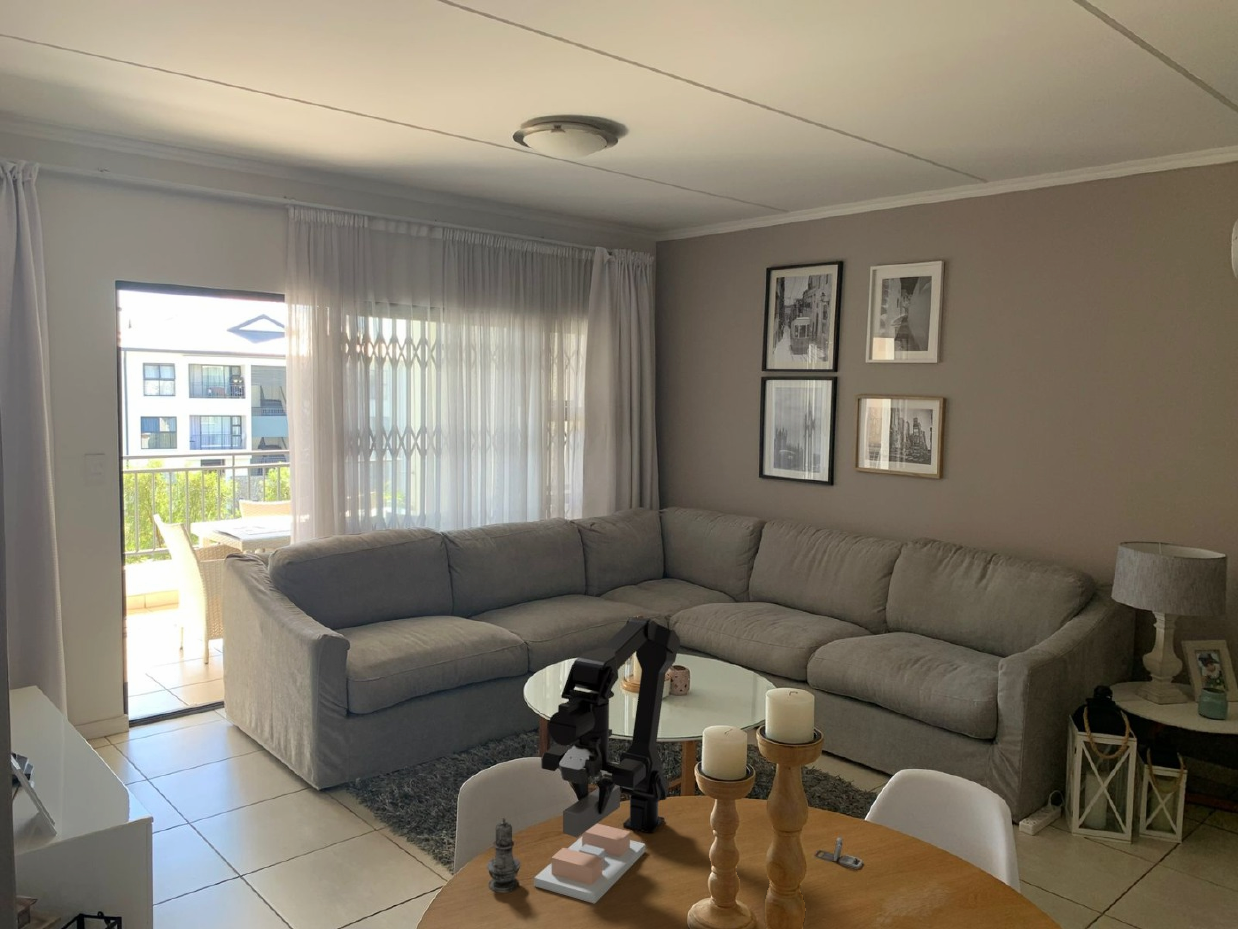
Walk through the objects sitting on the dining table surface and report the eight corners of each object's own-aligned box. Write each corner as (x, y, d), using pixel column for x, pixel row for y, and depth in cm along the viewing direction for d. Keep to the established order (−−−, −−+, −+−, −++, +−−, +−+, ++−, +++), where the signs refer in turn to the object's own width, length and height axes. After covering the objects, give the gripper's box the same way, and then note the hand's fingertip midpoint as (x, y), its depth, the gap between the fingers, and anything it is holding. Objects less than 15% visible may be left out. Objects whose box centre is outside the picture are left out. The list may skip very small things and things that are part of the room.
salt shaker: (514, 895, 156) (514, 827, 155) (482, 891, 157) (481, 824, 156) (525, 877, 162) (525, 812, 161) (493, 874, 163) (493, 809, 162)
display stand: (589, 837, 177) (589, 814, 176) (645, 851, 171) (645, 828, 171) (534, 886, 159) (534, 861, 158) (594, 903, 153) (594, 878, 153)
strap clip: (863, 864, 168) (864, 842, 168) (858, 871, 165) (859, 849, 165) (819, 852, 172) (819, 830, 172) (813, 858, 170) (814, 836, 170)
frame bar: (606, 803, 171) (606, 782, 171) (619, 807, 169) (620, 786, 169) (562, 833, 159) (563, 811, 159) (577, 837, 158) (577, 815, 157)
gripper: (524, 732, 160) (524, 818, 161) (619, 751, 152) (618, 842, 153) (556, 713, 170) (556, 794, 171) (647, 730, 162) (646, 815, 163)
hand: (592, 811), depth 164 cm, fingers closed on frame bar, 3 cm apart
